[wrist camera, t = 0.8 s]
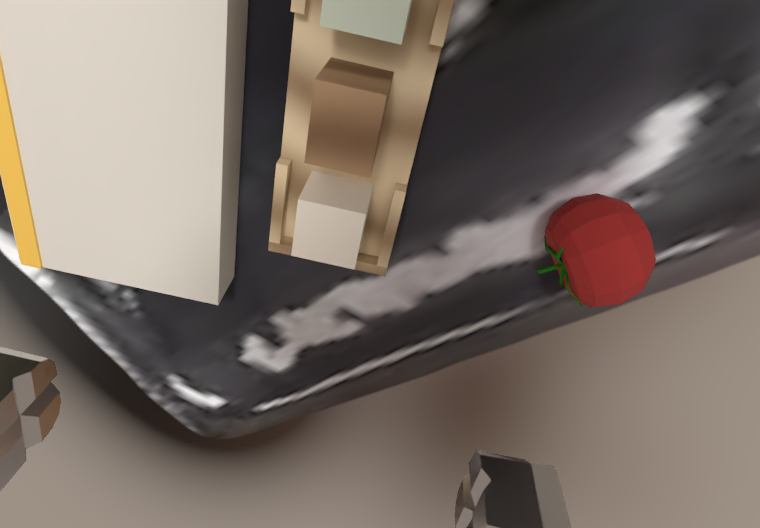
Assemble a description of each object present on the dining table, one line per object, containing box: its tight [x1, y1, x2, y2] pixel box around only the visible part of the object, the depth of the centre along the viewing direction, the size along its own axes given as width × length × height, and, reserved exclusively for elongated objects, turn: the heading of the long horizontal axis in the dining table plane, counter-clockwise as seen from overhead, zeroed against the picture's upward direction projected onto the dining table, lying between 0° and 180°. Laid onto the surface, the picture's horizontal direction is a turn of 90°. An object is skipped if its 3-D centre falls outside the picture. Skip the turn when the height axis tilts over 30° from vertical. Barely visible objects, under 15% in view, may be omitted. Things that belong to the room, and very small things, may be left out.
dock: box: [0, 0, 248, 305], centre depth 36 cm, size 30×16×4 cm, turn 169°
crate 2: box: [291, 171, 374, 270], centre depth 37 cm, size 4×4×4 cm
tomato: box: [537, 194, 656, 307], centre depth 37 cm, size 8×8×8 cm
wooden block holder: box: [268, 0, 454, 276], centre depth 34 cm, size 24×9×8 cm, turn 169°
